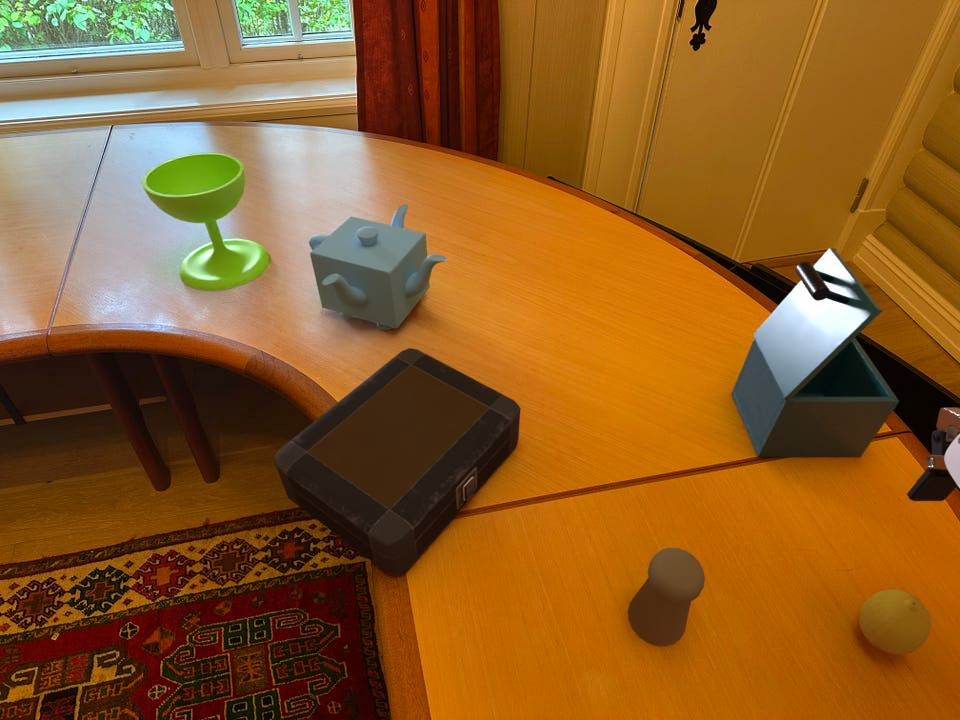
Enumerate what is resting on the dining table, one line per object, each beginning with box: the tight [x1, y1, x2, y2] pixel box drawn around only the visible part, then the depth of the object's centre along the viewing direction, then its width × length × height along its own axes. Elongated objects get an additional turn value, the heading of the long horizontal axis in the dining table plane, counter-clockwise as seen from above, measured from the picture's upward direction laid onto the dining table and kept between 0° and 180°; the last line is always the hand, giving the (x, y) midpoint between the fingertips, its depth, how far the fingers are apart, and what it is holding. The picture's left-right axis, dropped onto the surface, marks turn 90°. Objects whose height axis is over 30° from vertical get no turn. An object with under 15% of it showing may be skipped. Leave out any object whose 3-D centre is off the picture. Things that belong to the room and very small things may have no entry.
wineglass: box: [141, 152, 271, 292], centre depth 106 cm, size 16×16×18 cm
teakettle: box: [308, 203, 448, 330], centre depth 98 cm, size 19×19×15 cm
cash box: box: [273, 347, 521, 577], centre depth 76 cm, size 25×20×8 cm
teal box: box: [730, 337, 900, 458], centre depth 80 cm, size 14×12×11 cm
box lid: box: [752, 247, 883, 399], centre depth 71 cm, size 14×12×5 cm
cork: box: [627, 547, 706, 647], centre depth 61 cm, size 6×6×11 cm
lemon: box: [858, 588, 932, 655], centre depth 60 cm, size 6×6×8 cm
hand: (954, 546), depth 52 cm, fingers open, 9 cm apart
